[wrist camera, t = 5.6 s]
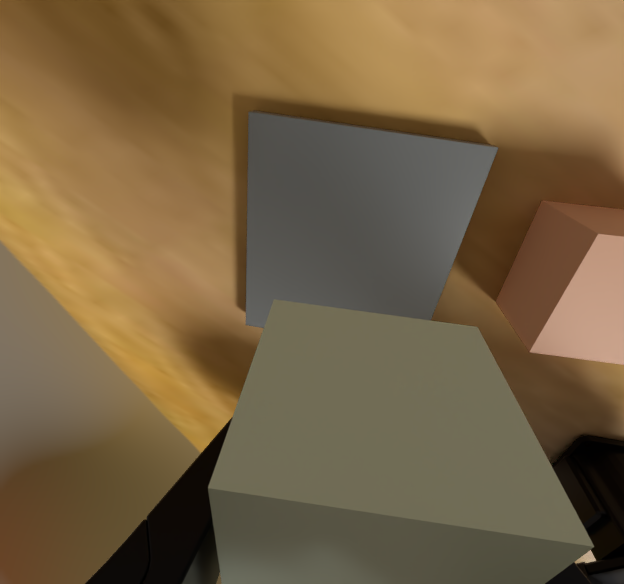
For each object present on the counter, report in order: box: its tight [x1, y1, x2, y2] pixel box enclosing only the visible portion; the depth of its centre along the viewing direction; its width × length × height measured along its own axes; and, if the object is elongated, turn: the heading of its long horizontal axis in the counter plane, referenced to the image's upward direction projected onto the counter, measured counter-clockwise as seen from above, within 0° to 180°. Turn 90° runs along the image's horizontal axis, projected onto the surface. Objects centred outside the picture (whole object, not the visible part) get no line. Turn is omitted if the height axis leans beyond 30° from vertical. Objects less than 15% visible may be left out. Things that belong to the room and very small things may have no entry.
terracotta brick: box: [496, 200, 624, 365], centre depth 16 cm, size 5×6×4 cm
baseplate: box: [246, 110, 498, 328], centre depth 18 cm, size 11×12×1 cm
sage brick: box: [208, 299, 594, 584], centre depth 8 cm, size 5×6×4 cm
